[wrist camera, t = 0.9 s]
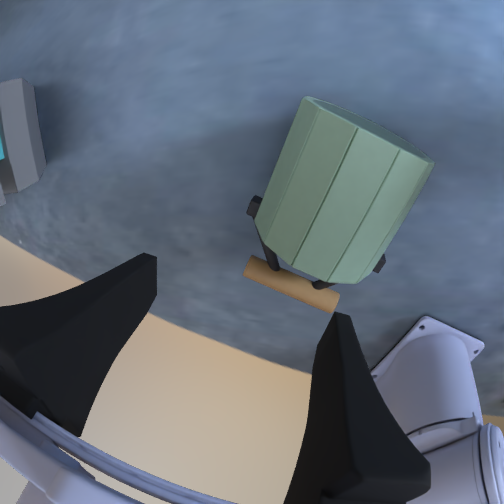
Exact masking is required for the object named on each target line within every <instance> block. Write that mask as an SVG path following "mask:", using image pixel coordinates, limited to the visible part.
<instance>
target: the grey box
mask: <svg viewBox="0 0 504 504" xmlns="http://www.w3.org/2000/svg"><path fill="white" fill-rule="evenodd" d="M46 165H47V163H46V159H45V154H44V149H43V144H42V138H41V133H40V127H39V121H38V114H37V107H36V99H35V91H34V86H33V85H31V84H30V83H28V82H27V81H25V80H24V79H23V78H18V79H13V80H9V81H5V82H0V207H1V206H2V205H4V204H6V200H5V197H4V194H10V193H18V192H20V191H21V190H23V189H25V188H27V187H29V186H31V185H33V184H34V183H36V182H38V181H39V180H40V178H41V176H42V173H43V171H44V169H45V167H46Z"/></svg>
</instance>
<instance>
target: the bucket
mask: <svg viewBox="0 0 504 504" xmlns="http://www.w3.org/2000/svg"><path fill="white" fill-rule="evenodd" d="M434 166H435V163H434V162H433V161H432V160H431V159H430V158H429V157H428V156H427V155H426V154H424V153H423V152H422V151H420V150H419V149H417V148H416V147H414V146H413V145H411V144H410V143H408V142H407V141H405V140H404V139H402V138H400V137H399V136H397V135H395V134H394V133H392V132H390V131H388V130H387V129H385V128H383V127H381V126H379V125H377V124H376V123H374V122H372V121H369V120H367V119H365V118H363V117H361V116H359V115H357V114H355V113H353V112H351V111H348V110H346V109H343V108H341V107H339V106H336V105H334V104H331V103H328V102H326V101H323V100H319V99H316V98H313V97H309V96H306V97H303V98H302V100H301V103H300V105H299V108H298V110H297V113H296V115H295V118H294V120H293V123H292V126H291V128H290V131H289V133H288V136H287V138H286V141H285V143H284V146H283V148H282V151H281V153H280V156H279V159H278V161H277V164H276V166H275V169H274V171H273V174H272V176H271V179H270V181H269V184H268V187H267V189H266V192H265V194H264V197H263V198H261V197H259V196H256V195H255V196H254V197H253V199H252V200H251V202H250V204H249V207H248V210H247V214H248V215H250V216H252V217H253V220H254V223H255V226H256V229H257V232H258V235H259V238H260V241H261V244H262V247H263V250H264V253H265V256H266V259H267V261H265V260H263V259H261V258H258V257H256V256H254V255H251V257H250V259H249V261H248V263H247V265H246V268H245V270H244V273H243V276H245V277H247V278H249V279H252V280H254V281H256V282H258V283H261V284H263V285H265V286H267V287H270V288H272V289H274V290H277V291H279V292H281V293H283V294H286V295H288V296H290V297H293V298H295V299H297V300H300V301H302V302H304V303H307V304H309V305H311V306H314V307H316V308H318V309H321V310H323V311H325V312H328V313H332V312H333V311H334V309H335V308H336V306H337V303H338V301H339V293H338V292H335V291H333V290H331V289H329V288H327V287H329V286H332V285H335V284H337V283H346V284H357V283H358V282H360V281H361V280H362V279H364V278H365V277H366V276H368V275H369V274H370V273H371V272H372V271H374V272H376V273H379V271H380V270H381V268H382V267H383V265H384V264H385V262H386V260H385V254H383V253H384V252H385V250H386V249H387V247H388V245H389V244H390V242H391V241H392V239H393V237H394V236H395V234H396V233H397V231H398V229H399V228H400V226H401V224H402V223H403V221H404V219H405V218H406V216H407V214H408V212H409V211H410V209H411V207H412V206H413V204H414V202H415V200H416V199H417V197H418V195H419V193H420V192H421V190H422V188H423V186H424V184H425V182H426V181H427V179H428V177H429V175H430V173H431V171H432V169H433V168H434ZM276 254H277V255H278V256H279V257H280V258H281V259H283V260H284V261H285V262H286V263H287V264H288V265H290V266H291V265H292V267H293V268H295V269H298V270H300V271H302V272H304V273H307V274H309V275H311V276H313V277H316V278H318V279H320V280H317V281H315V282H313V281H310V280H308V279H306V278H304V277H301V276H299V275H297V274H295V273H292V272H290V271H288V270H285V269H283V268H281V267H280V266H279V263H278V260H277V257H276Z"/></svg>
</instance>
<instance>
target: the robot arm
mask: <svg viewBox="0 0 504 504" xmlns="http://www.w3.org/2000/svg"><path fill="white" fill-rule="evenodd" d="M156 295H157V257H155V256H152V255H149V254H146V253H142V254H140V255H138V256H136V257H134V258H132V259H130V260H128V261H126V262H125V263H123V264H121V265H119V266H117V267H115V268H113V269H111V270H110V271H108V272H106V273H104V274H102V275H100V276H98V277H96V278H94V279H92V280H89V281H87V282H85V283H83V284H81V285H79V286H77V287H74V288H72V289H69V290H66V291H64V292H61V293H58V294H56V295H52V296H49V297H45V298H42V299H39V300H35V301H31V302H27V303H22V304H16V305H11V306H2V307H0V457H1V458H2V459H3V460H5V461H6V462H7V463H8V464H9V465H10V466H12V467H13V468H14V469H15V470H16V471H18V472H19V473H20V474H21V475H22V476H24V477H25V478H26V479H28V480H29V482H28V483H27V485H26V487H25V489H24V490H23V492H22V494H21V496H20V498H19V499H18V501H17V503H16V504H144V503H142V502H139V501H137V500H135V499H133V498H131V497H128V496H126V495H124V494H122V493H120V492H118V491H116V490H114V489H111V488H110V487H108V486H106V485H104V484H102V483H100V482H98V481H96V480H95V477H94V476H93V475H91V474H90V473H89V472H87V471H86V470H85V469H84V468H83V467H82V466H81V465H80V463H79V462H78V461H76V460H75V459H73V458H72V457H70V456H69V455H68V454H66V453H65V452H63V451H62V450H61V449H63V450H65V451H66V452H68V453H69V454H71V455H73V456H74V457H76V458H77V459H79V460H81V461H83V462H84V463H86V464H88V465H90V466H91V467H93V468H95V469H97V470H99V471H101V472H103V473H104V474H106V475H108V476H110V477H112V478H114V479H116V480H118V481H120V482H122V483H124V484H126V485H129V486H131V487H133V488H135V489H137V490H140V491H142V492H144V493H146V494H149V495H151V496H154V497H156V498H159V499H161V500H164V501H166V502H169V503H171V504H237V503H233V502H230V501H226V500H222V499H219V498H215V497H212V496H209V495H206V494H202V493H199V492H196V491H193V490H191V489H188V488H185V487H182V486H179V485H177V484H174V483H171V482H169V481H166V480H164V479H161V478H159V477H156V476H154V475H151V474H149V473H147V472H145V471H142V470H140V469H138V468H136V467H133V466H131V465H129V464H127V463H125V462H123V461H121V460H119V459H117V458H115V457H113V456H111V455H109V454H107V453H105V452H103V451H101V450H99V449H97V448H96V447H94V446H92V445H90V444H88V443H86V442H85V441H83V440H81V439H80V438H78V437H80V436H81V434H82V431H83V428H84V426H85V423H86V420H87V417H88V415H89V412H90V410H91V407H92V405H93V402H94V400H95V398H96V396H97V393H98V391H99V389H100V387H101V385H102V383H103V381H104V379H105V377H106V375H107V373H108V371H109V369H110V367H111V365H112V363H113V362H114V360H115V358H116V357H117V355H118V353H119V352H120V351H121V349H122V348H123V346H124V345H125V343H126V342H127V341H128V339H129V338H130V336H131V335H132V334H133V332H134V331H135V329H136V328H137V327H138V325H139V324H140V323H141V321H142V320H143V318H144V317H145V315H146V314H147V312H148V310H149V309H150V307H151V305H152V303H153V301H154V299H155V297H156ZM422 325H423V326H422ZM420 326H422V327H420ZM484 347H485V346H484V343H483V342H482V341H480V340H478V339H476V338H474V337H471V336H469V335H467V334H465V333H463V332H461V331H459V330H457V329H454V328H452V327H450V326H448V325H446V324H444V323H442V322H439V321H437V320H435V319H433V318H431V317H429V316H424V317H422V318H420V320H419V321H418V322H417V323H416V324H415V325H414V327H413V328H412V329H411V330H410V331H409V332H408V333H407V334H406V336H405V337H404V338H403V339H402V340H401V341H400V342H399V343H398V344H397V345H396V346H395V347H394V349H393V350H392V351H391V352H390V353H389V354H388V355H387V356H386V357H385V358H384V359H383V360H382V361H381V362H380V363H379V364H378V365H377V366H376V367H375V368H374V369H373V370H372V371H371V372H370V370H369V368H368V366H367V363H366V360H365V358H364V355H363V353H362V350H361V347H360V344H359V341H358V339H357V336H356V333H355V330H354V327H353V323H352V320H351V318H350V316H349V315H346V314H342V313H338V312H334V314H333V316H332V318H331V320H330V322H329V324H328V326H327V328H326V330H325V332H324V334H323V336H322V338H321V340H320V341H319V343H318V345H317V350H316V354H315V359H314V364H313V370H312V381H311V390H310V400H309V410H308V418H307V424H306V429H305V434H304V438H303V441H302V446H301V449H300V453H299V457H298V460H297V464H296V468H295V471H294V474H293V477H292V480H291V483H290V486H289V490H288V492H287V495H286V498H285V500H284V503H283V504H504V437H503V435H502V432H501V430H500V428H499V427H497V426H494V425H492V424H491V423H488V424H486V425H483V419H482V414H481V408H480V403H479V398H478V393H477V389H476V384H475V380H474V376H473V372H472V368H471V364H470V362H471V361H472V360H473V359H474V358H475V357H476V356H477V355H478V354H479V353H480V352H481V351H482V350H483V349H484ZM59 447H60V448H61V449H59Z"/></svg>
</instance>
